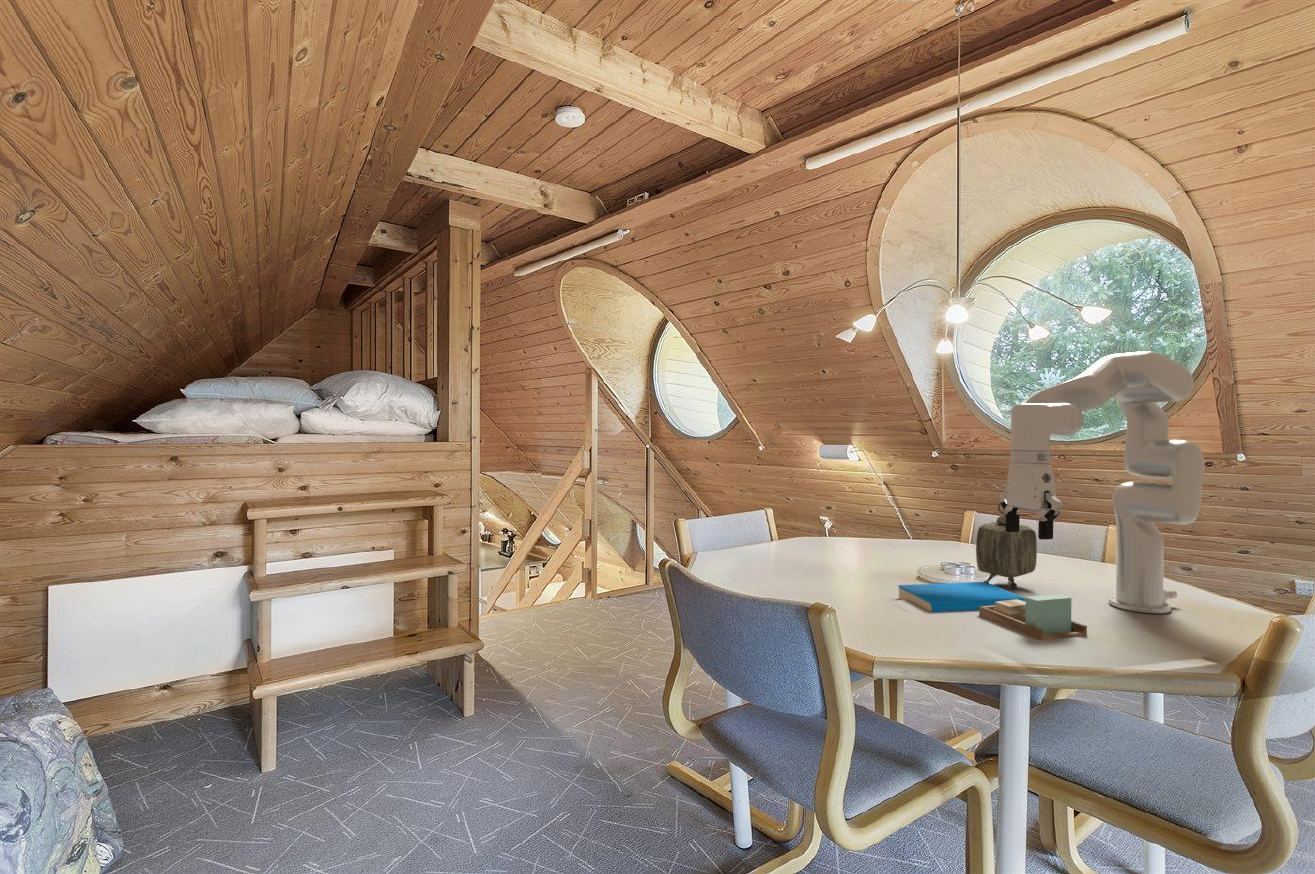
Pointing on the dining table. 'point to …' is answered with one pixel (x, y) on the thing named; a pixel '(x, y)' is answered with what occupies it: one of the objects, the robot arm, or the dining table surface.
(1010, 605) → the offcut top
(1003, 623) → the tray
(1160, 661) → the dining table surface
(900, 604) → the dining table surface
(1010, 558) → the tabletop clock
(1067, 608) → the block
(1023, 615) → the offcut low
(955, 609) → the book
